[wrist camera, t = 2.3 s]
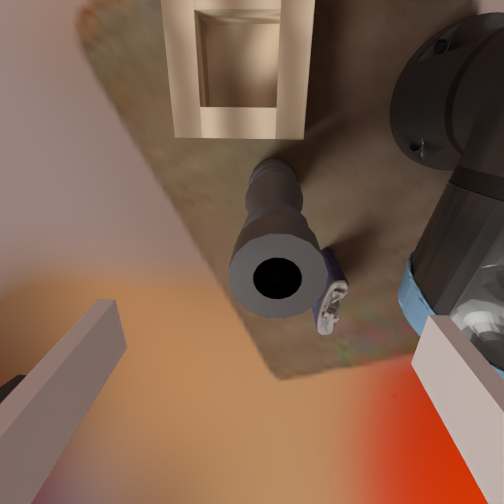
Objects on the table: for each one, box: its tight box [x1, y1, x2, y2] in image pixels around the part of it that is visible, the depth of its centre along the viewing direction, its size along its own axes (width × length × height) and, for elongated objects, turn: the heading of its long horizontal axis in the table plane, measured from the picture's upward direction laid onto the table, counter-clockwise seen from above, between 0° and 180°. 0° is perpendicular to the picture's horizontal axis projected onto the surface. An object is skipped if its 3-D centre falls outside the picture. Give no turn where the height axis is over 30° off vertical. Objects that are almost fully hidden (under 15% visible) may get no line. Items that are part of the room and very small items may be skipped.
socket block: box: [161, 0, 315, 139], centre depth 30 cm, size 14×14×6 cm
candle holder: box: [229, 159, 328, 318], centre depth 27 cm, size 6×6×25 cm
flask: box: [312, 248, 349, 335], centre depth 40 cm, size 9×3×11 cm, turn 172°
